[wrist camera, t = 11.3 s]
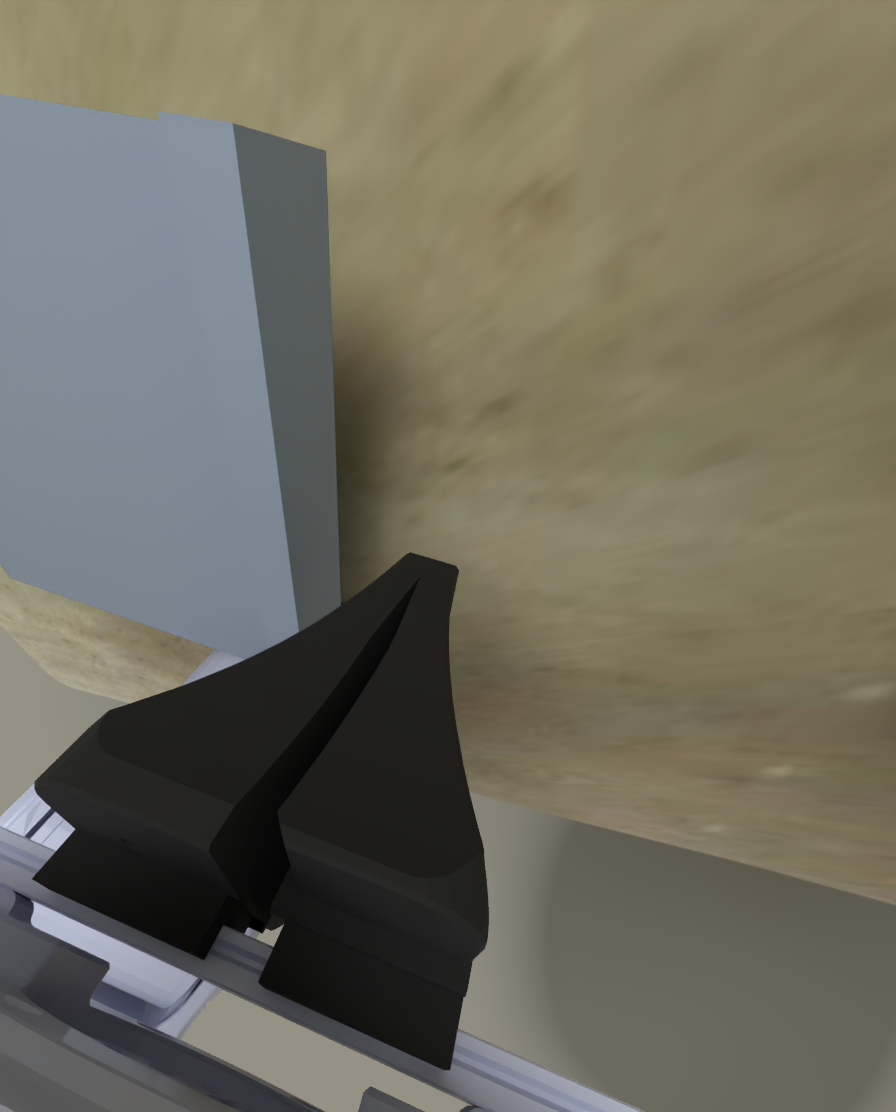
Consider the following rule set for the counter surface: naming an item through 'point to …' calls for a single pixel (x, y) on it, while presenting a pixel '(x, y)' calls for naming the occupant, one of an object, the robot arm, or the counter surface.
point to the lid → (167, 372)
